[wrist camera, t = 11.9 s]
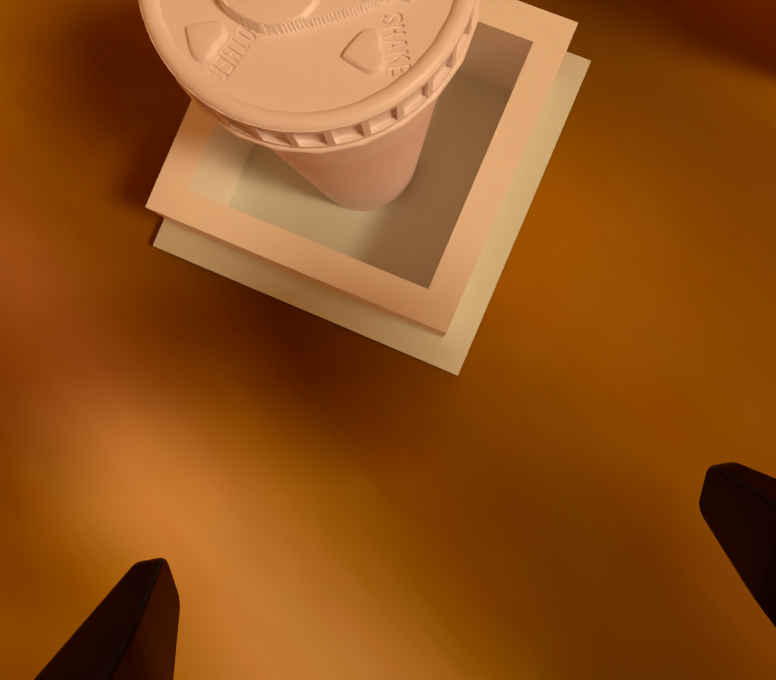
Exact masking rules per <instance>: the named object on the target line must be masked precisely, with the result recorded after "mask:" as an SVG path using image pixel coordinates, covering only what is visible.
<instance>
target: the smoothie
mask: <svg viewBox="0 0 776 680" xmlns="http://www.w3.org/2000/svg"><path fill="white" fill-rule="evenodd" d="M139 5H140V10H141V14H142V17H143V20H144V24H145V27H146V29H147V32H148V34H149V36H150V39H151V41H152V43H153V45H154V47H155V48H156V50H157V52H158V54H159V56H160V57H161V59H162V60H163V62H164V63H165V64H166V66H167V67H168V69H169V70H170V71H171V72H172V74H173V75H174V76H175V78H176V80H177V82H178V83H179V84H180V86H181V87H182V88H183V89H184V90H185V92H186V93H187V94H188V95H189V96H190V98H191V99H192V100H193V101H194V103H195V104H196V105H197V106H198V107H199V109H200V110H201V111H202V112H203V113H204V114H205V115H206V116H208V117H209V118H211V119H212V120H214V121H215V122H217V123H218V124H219V125H221V126H222V127H224V128H225V129H227V130H228V131H229V132H231V133H232V134H234V135H235V136H237V137H238V138H241V139H244V140H247V141H250V142H253V143H255V144H258V145H261V146H264V147H267V148H270V149H271V150H272V151H273V152H275V153H276V154H277V155H278V156H279V157H281V158H282V159H283V160H284V161H285V162H286V163H288V164H289V165H290V166H291V167H292V168H294V169H295V170H296V171H297V172H298V173H300V174H301V175H302V176H303V177H304V178H306V179H307V180H308V181H309V182H310V183H312V184H313V185H314V186H315V187H316V188H318V189H319V190H320V191H321V192H322V193H324V194H325V195H326V196H327V197H328V198H329V199H331V200H332V201H333V202H335V203H336V204H338V205H340V206H342V207H344V208H347V209H350V210H354V211H373V210H377V209H380V208H383V207H385V206H387V205H389V204H391V203H392V202H394V201H395V200H396V199H398V198H399V197H400V196H401V195H402V194H403V193H404V191H405V190H406V189H407V187H408V186H409V184H410V182H411V180H412V177H413V174H414V171H415V168H416V165H417V162H418V158H419V155H420V152H421V149H422V145H423V142H424V139H425V136H426V133H427V129H428V126H429V123H430V120H431V117H432V113H433V110H434V107H435V104H436V100H437V98H438V97H439V95H440V94H441V93H442V91H443V90H444V88H445V87H446V85H447V84H448V83H449V81H450V80H451V78H452V77H453V76H454V74H455V73H456V71H457V70H458V69H459V67H460V66H461V64H462V63H463V61H464V58H465V55H466V53H467V50H468V47H469V45H470V42H471V39H472V37H473V34H474V31H475V29H476V26H477V23H478V21H479V10H480V0H139Z"/></svg>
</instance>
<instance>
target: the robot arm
mask: <svg viewBox="0 0 776 680" xmlns="http://www.w3.org/2000/svg"><path fill="white" fill-rule="evenodd" d="M699 507H700V511H701V514H702V516H703V518H704V519H705V521H706V523H707V524H708V526H709V527H710V529H711V531H712V532H713V534H714V535H715V537H716V539H717V540H718V542H719V543H720V545H721V547H722V548H723V550H724V551H725V553H726V555H727V556H728V558H729V559H730V561H731V563H732V564H733V566H734V567H735V569H736V571H737V572H738V574H739V575H740V577H741V579H742V580H743V582H744V583H745V585H746V587H747V588H748V590H749V591H750V593H751V594H752V596H753V597H754V599H755V600H756V601H757V603H758V604H759V606H760V607H761V608H762V610H763V611H764V613H765V614H766V615H767V617H768V618H769V619H770V621H771V622H772V623H773V624H774V626H775V627H776V479H775V478H773V477H770V476H768V475H765V474H763V473H761V472H758V471H756V470H753V469H751V468H748V467H746V466H744V465H741V464H738V463H734V462H729V463H723V464H717V465H713V466H711V467H710V468H709V469H708V470H707V472H706V476H705V480H704V484H703V488H702V492H701V496H700V500H699ZM179 612H180V602H179V595H178V591H177V588H176V585H175V582H174V579H173V576H172V573H171V570H170V567H169V564H168V562H167V561H166V560H165V559H164V558H156V559H151V560H145V561H140V562H137V563H136V564H134V565H133V566H132V567H131V568H130V569H129V571H128V572H127V573H126V574H125V575H124V576H123V577H122V579H121V580H120V581H119V582H118V583H117V584H116V586H115V587H114V588H113V589H112V590H111V591H110V592H109V594H108V595H107V596H106V597H105V598H104V599H103V601H102V602H101V603H100V604H99V605H98V606H97V607H96V609H95V610H94V611H93V612H92V613H91V614H90V616H89V617H88V618H87V619H86V620H85V621H84V622H83V624H82V625H81V626H80V627H79V628H78V629H77V631H76V632H75V633H74V634H73V635H72V636H71V638H70V639H69V640H68V641H67V642H66V643H65V644H64V646H63V647H62V648H61V649H60V650H59V651H58V653H57V654H56V655H55V656H54V657H53V658H52V659H51V661H50V662H49V663H48V664H47V665H46V666H45V668H44V669H43V670H42V671H41V672H40V673H39V674H38V676H37V677H36V678H35V679H34V680H173V677H174V666H175V655H176V644H177V633H178V623H179Z"/></svg>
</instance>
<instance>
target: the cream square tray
mask: <svg viewBox="0 0 776 680" xmlns="http://www.w3.org/2000/svg"><path fill="white" fill-rule="evenodd" d="M577 25H578V22H575V21H572V20H569V19H567V18H564V17H561V16H559V15H556V14H553V13H550V12H548V11H545V10H542V9H539V8H537V7H534V6H531V5H529V4H526V3H523V2H520V1H518V0H480V10H479V21H478V23H477V26H476V29H475V31H474V34H473V37H472V39H471V42H470V45H469V47H468V50H467V53H466V55H465V58H464V61H463V63H462V64H461V66H460V67H459V69H458V70H457V71H456V73H455V74H454V76H453V77H452V78H451V80H450V81H449V83H448V84H447V85H446V87H445V88H444V90H443V91H442V93H441V94H440V95H439V97H438V98H437V100H436V104H435V107H434V110H433V113H432V117H431V120H430V123H429V126H428V129H427V133H426V136H425V139H424V142H423V145H422V149H421V152H420V155H419V158H418V162H417V165H416V168H415V171H414V174H413V177H412V180H411V182H410V184H409V186H408V187H407V189H406V190H405V191H404V193H403V194H402V195H401V196H400V197H399V198H398V199H396V200H395V201H394V202H392V203H391V204H389V205H387V206H385V207H383V208H380V209H377V210H373V211H354V210H350V209H347V208H344V207H342V206H340V205H338V204H336V203H335V202H333V201H332V200H331V199H329V198H328V197H327V196H326V195H325V194H324V193H322V192H321V191H320V190H319V189H318V188H316V187H315V186H314V185H313V184H312V183H310V182H309V181H308V180H307V179H306V178H304V177H303V176H302V175H301V174H300V173H298V172H297V171H296V170H295V169H294V168H292V167H291V166H290V165H289V164H288V163H286V162H285V161H284V160H283V159H282V158H281V157H279V156H278V155H277V154H276V153H275V152H273V151H272V150H271V149H270V148H267V147H264V146H261V145H258V144H255V143H253V142H250V141H247V140H244V139H241V138H238V137H237V136H235V135H234V134H232V133H231V132H229V131H228V130H227V129H225V128H224V127H222V126H221V125H219V124H218V123H217V122H215V121H214V120H212V119H211V118H209V117H208V116H206V115H205V114H204V113H203V112H202V111H201V110H200V109H199V107H198V106H197V105H196V104H195V103H194V101H193V100H191V102H190V105H189V107H188V109H187V111H186V114H185V116H184V118H183V121H182V123H181V125H180V128H179V130H178V132H177V135H176V137H175V139H174V142H173V144H172V146H171V148H170V151H169V153H168V155H167V158H166V160H165V162H164V165H163V167H162V169H161V172H160V174H159V176H158V178H157V181H156V183H155V185H154V188H153V190H152V192H151V195H150V197H149V199H148V202H147V204H146V206H145V207H146V208H148V209H149V210H151V211H153V212H155V213H157V214H158V215H160V216H162V217H164V220H163V223H162V225H161V227H160V230H159V232H158V234H157V237H156V239H155V241H154V243H153V246H154V247H156V248H159V249H161V250H164V251H166V252H168V253H171V254H173V255H175V256H178V257H180V258H182V259H185V260H187V261H189V262H192V263H194V264H196V265H199V266H201V267H203V268H206V269H208V270H211V271H213V272H215V273H218V274H220V275H222V276H225V277H227V278H229V279H232V280H234V281H236V282H239V283H241V284H243V285H246V286H248V287H251V288H253V289H255V290H258V291H260V292H262V293H265V294H267V295H269V296H272V297H274V298H276V299H279V300H281V301H283V302H286V303H288V304H290V305H293V306H295V307H298V308H300V309H302V310H305V311H307V312H309V313H312V314H314V315H316V316H319V317H321V318H323V319H326V320H328V321H330V322H333V323H335V324H337V325H340V326H342V327H345V328H347V329H349V330H352V331H354V332H356V333H359V334H361V335H363V336H366V337H368V338H370V339H373V340H375V341H377V342H380V343H382V344H385V345H387V346H389V347H392V348H394V349H396V350H399V351H401V352H403V353H406V354H408V355H410V356H413V357H415V358H417V359H420V360H422V361H424V362H427V363H429V364H432V365H434V366H436V367H439V368H441V369H443V370H446V371H448V372H450V373H453V374H455V375H457V376H458V374H459V372H460V369H461V367H462V364H463V362H464V360H465V357H466V355H467V353H468V350H469V348H470V346H471V343H472V341H473V338H474V336H475V334H476V331H477V329H478V327H479V324H480V322H481V320H482V317H483V315H484V312H485V310H486V308H487V305H488V303H489V301H490V298H491V296H492V294H493V291H494V289H495V286H496V284H497V282H498V279H499V277H500V275H501V272H502V270H503V268H504V265H505V263H506V260H507V258H508V256H509V253H510V251H511V249H512V246H513V244H514V242H515V239H516V237H517V235H518V232H519V230H520V227H521V225H522V223H523V220H524V218H525V216H526V213H527V211H528V209H529V206H530V204H531V201H532V199H533V197H534V194H535V192H536V190H537V187H538V185H539V183H540V180H541V178H542V175H543V173H544V171H545V168H546V166H547V164H548V161H549V159H550V157H551V154H552V152H553V149H554V147H555V145H556V142H557V140H558V138H559V135H560V133H561V131H562V128H563V126H564V124H565V121H566V119H567V116H568V114H569V112H570V109H571V107H572V105H573V102H574V100H575V98H576V95H577V93H578V90H579V88H580V86H581V83H582V81H583V79H584V76H585V74H586V72H587V69H588V67H589V64H590V62H591V61H590V60H588V59H585V58H582V57H580V56H577V55H574V54H571V53H569V52H566V51H567V48H568V46H569V43H570V41H571V39H572V36H573V34H574V32H575V29H576V27H577Z"/></svg>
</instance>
